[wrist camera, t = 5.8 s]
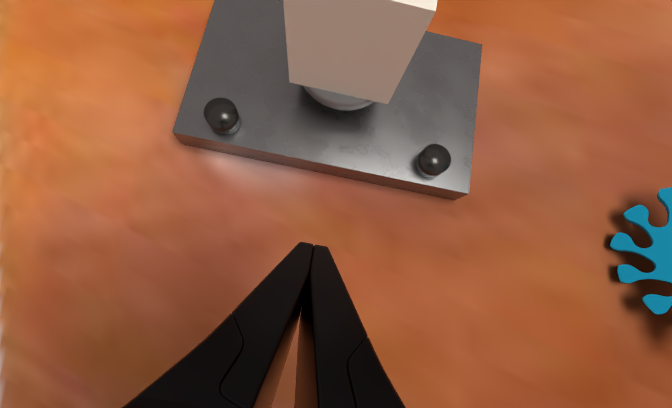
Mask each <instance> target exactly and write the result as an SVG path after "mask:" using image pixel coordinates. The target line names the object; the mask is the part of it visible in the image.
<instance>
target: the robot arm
mask: <svg viewBox="0 0 672 408" xmlns="http://www.w3.org/2000/svg"><path fill="white" fill-rule="evenodd" d="M301 307H302V308H301ZM300 312H301V314H300ZM299 316H300V323H299V338H298V354H297V371H296V388H295V404H294V408H406V407H405V406H404V404H403V402H402V401H401V399H400V397H399V395H398V394H397V392H396V390H395V389H394V387H393V385H392V383H391V382H390V380H389V378H388V376H387V374H386V373H385V371H384V369H383V367H382V365H381V363H380V361H379V359H378V357H377V355H376V353H375V351H374V348H373V346H372V344H371V342H370V339H369V338H368V337H367V333H366V331H365V329H364V326H363V324H362V322H361V320H360V318H359V315H358V313H357V311H356V309H355V306H354V304H353V302H352V300H351V298H350V295H349V293H348V291H347V289H346V286H345V284H344V282H343V280H342V278H341V275H340V273H339V271H338V269H337V267H336V264H335V262H334V260H333V258H332V255H331V253H330V251H329V249H328V247H326V246H320V245H314V247H313V244H310V243H305V242H300V243H299V244H298V245H297V246H296V247H295V248H294V249H293V250H292V251H291V252H290V253H289V254H288V255H287V256H286V257H285V258H284V259H283V260H282V261H281V262H280V263H279V264H278V265H277V266H276V267H275V268H274V269H273V270H272V271H271V272H270V273H269V275H268V276H267V277H266V278H265V279H264V280H263V281H262V282H261V283H260V284H259V285H258V286H257V287H256V288H255V289H254V290H253V291H252V292H251V293H250V294H249V295H248V296H247V297H246V298H245V299H244V300H243V301H242V302H241V303H240V304H239V306H238V307H237V308H236V309H235V310H234V311H233V312H232V314H230V315H229V316H228V317H227V318H226V319H225V320H224V321H223V322H222V323H221V324H220V325H219V326H218V327H217V328H216V329H215V330H214V331H213V332H212V333H211V334H210V335H209V336H208V337H207V338H206V339H204V340H203V341H202V342H201V343H200V344H199V345H197V346H196V347H195V348H194V349H193V350H192V351H191V352H189V353H188V354H187V355H186V356H185V357H183V358H182V359H181V360H180V361H179V362H177V363H176V364H175V365H174V366H173V367H171V368H170V369H169V370H168V371H166V372H165V373H164V374H163V375H162V376H160V377H159V378H158V379H157V380H156V381H154V382H153V383H152V384H151V385H149V386H148V387H147V388H146V389H145V390H143V391H142V392H141V393H140V394H139V395H137V396H136V397H135V398H134V399H132V400H131V401H130V402H129V403H127V404H126V405H124V406H123V407H122V408H271V405H272V401H273V398H274V395H275V392H276V389H277V386H278V383H279V380H280V377H281V373H282V370H283V367H284V364H285V361H286V358H287V355H288V352H289V349H290V346H291V342H292V339H293V336H294V333H295V330H296V327H297V324H298V320H299Z"/></svg>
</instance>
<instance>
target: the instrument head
mask: <svg viewBox="0 0 672 408" xmlns="http://www.w3.org/2000/svg"><path fill="white" fill-rule="evenodd" d="M283 4H284V17H285V31H286V44H287V57H288V70H289V82H290V83H294V84H299V85H303V87H304V88H305V90H306V91H307V92H308V93H309V94H310V95H311V96H312V97H313V98H314V99H315V100H316V101H318V102H319V103H321V104H323V105H325V106H327V107H330V108H333V109H337V110H356V109H361V108H364V107H366V106H368V105H370V104H372V103H373V102H380V103H384V104H388V103H389V101H390V99H391V97H392V95H393V93H394V91H395V89H396V88H397V86H398V84H399V82H400V80H401V78H402V76H403V74H404V72H405V70H406V68H407V66H408V64H409V62H410V60H411V58H412V56H413V55H414V53H415V51H416V49H417V47H418V45H419V43H420V41H421V39H422V37H423V35H424V33H425V31H426V29H427V27H428V25H429V23H430V22H431V20H432V18H433V16H434V14H435V12H436V6H437V0H283Z"/></svg>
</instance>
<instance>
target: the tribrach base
mask: <svg viewBox="0 0 672 408" xmlns="http://www.w3.org/2000/svg"><path fill="white" fill-rule="evenodd" d="M481 51H482V44H478V43H473V42H469V41H465V40H461V39H457V38H453V37H448V36H444V35H440V34H436V33H432V32H427V31H425V33H424V35H423V37H422V39H421V41H420V43H419V45H418V47H417V49H416V51H415V53H414V55H413V56H412V58H411V60H410V62H409V64H408V66H407V68H406V70H405V72H404V74H403V76H402V78H401V80H400V82H399V84H398V86H397V88H396V89H395V91H394V93H393V95H392V97H391V99H390V101H389V103H388V104H384V103H380V102H373V103H372V104H370V105H368V106H366V107H364V108H361V109H356V110H337V109H333V108H330V107H327V106H325V105H323V104H321V103H319V102H318V101H316V100H315V99H314V98H313V97H312V96H311V95H310V94H309V93H308V92H307V91H306V90H305V88H304V87H303V85H299V84H294V83H290V82H289V70H288V57H287V44H286V31H285V17H284V4H283V0H215V1H214V4H213V7H212V11H211V14H210V17H209V20H208V23H207V26H206V29H205V32H204V35H203V38H202V42H201V45H200V48H199V51H198V54H197V57H196V60H195V63H194V66H193V70H192V73H191V76H190V79H189V82H188V85H187V88H186V91H185V94H184V98H183V101H182V104H181V107H180V110H179V113H178V116H177V119H176V122H175V125H174V129H173V133H174V135H175V136H176V137H177V138H178V139H179V140H180V141H181V142H182V143H183V144H185V145H189V146H194V147H199V148H204V149H209V150H214V151H219V152H224V153H228V154H233V155H238V156H243V157H248V158H253V159H258V160H262V161H267V162H272V163H277V164H282V165H287V166H292V167H297V168H301V169H306V170H311V171H316V172H321V173H326V174H331V175H335V176H340V177H345V178H350V179H355V180H360V181H365V182H370V183H374V184H379V185H384V186H389V187H394V188H399V189H404V190H408V191H413V192H418V193H423V194H428V195H433V196H438V197H443V198H447V199H452V200H456V199H458V198H461V197H463V196H465V195H467V194H469V186H470V175H471V164H472V153H473V141H474V130H475V119H476V108H477V96H478V85H479V74H480V63H481Z"/></svg>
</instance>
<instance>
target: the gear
mask: <svg viewBox="0 0 672 408" xmlns="http://www.w3.org/2000/svg"><path fill="white" fill-rule="evenodd" d="M657 198H658V200H659V201H660V202H661V203H662V204H663V205H664V207H665V208H666V210H667V214H668V219H667V224H666V226H664V227H653V226H651V225H650V224H649V223H648V215H649V212H648V209H647V208H646V207H644V206H643V205H637V206H635V207H632V208H631V209H629V210H627V211H626V212H625V213H624V214H623V216H624V218H625V220H626V221H628V222H630V223H633V224H635V225H637V226H639V227H640V228H642V229H643V230H644V231H645V232H646V233H647V235H648V236H649V238H650V239H651V241H652V245H651V247H649V248H640V247H638V246H636V245H635V244H634V242H633V241H632V239H631V237H630V236H629V235H627V234H625V233H617V234H616V235H615V236H614V237H613V239H612V241H611V244H610V247H611V248H612V249H613V250H616V251H626V252H632V253H636V254H638V255H641V256H643V257H644V258H646V259H648V260H649V261H651V262H652V263H653V264H654V267H655V268H654V270H653V271H652V272H650V273H644V272H641V271H639V270H638V269H636V268H635V267H633V266H631V265H627V264H623V265H619V266H618V269H617V273H618V277H619V280H620V282H622V283H632V282H635V281H638V280H643V279H653V280H659V281H664V282H668V283H670V284H671V285H672V187H671V188H665V189H660V191H659V192H658V194H657ZM642 301H643V303H644V304H645V305H646V306H647V307H648V308H649V309H650V310H651V311H652V312H653V313H654V314H663V313H666V312H667V311H668V309H669V308H670V307H671V306H672V295H671V296H668V297H666V296H661V295H656V294H648V295H645V296H643V297H642Z"/></svg>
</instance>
